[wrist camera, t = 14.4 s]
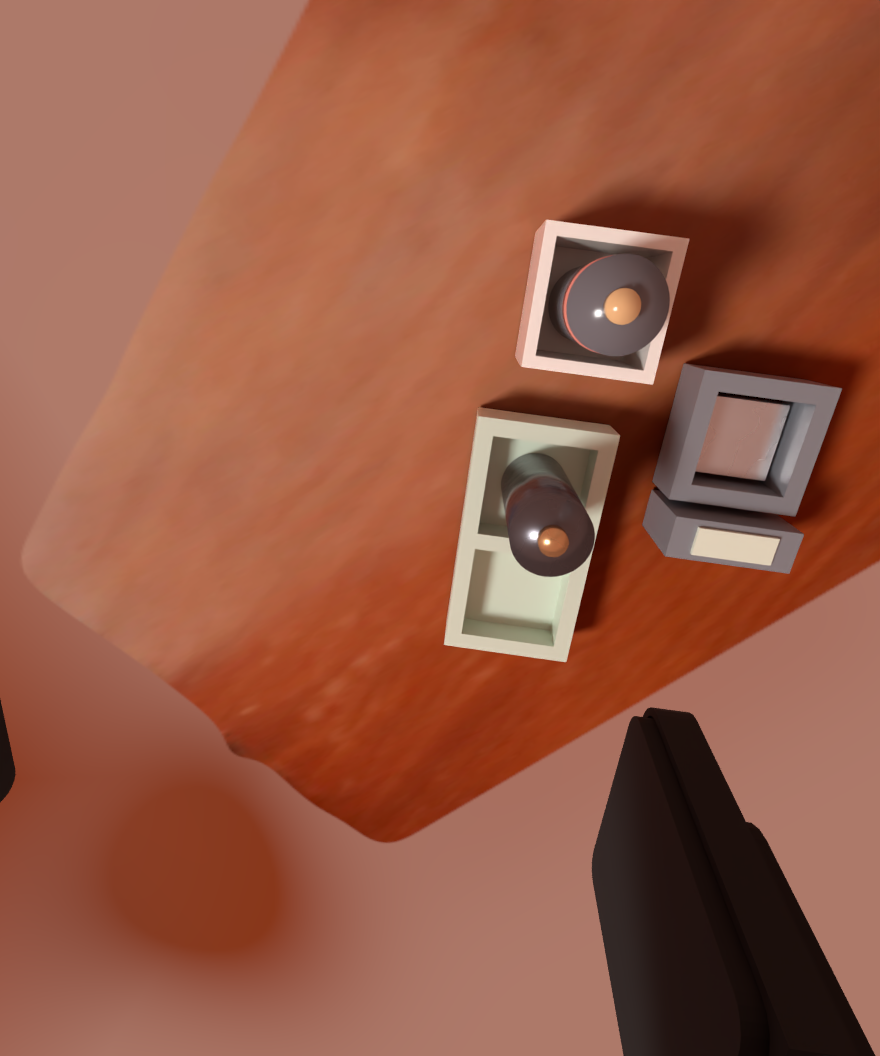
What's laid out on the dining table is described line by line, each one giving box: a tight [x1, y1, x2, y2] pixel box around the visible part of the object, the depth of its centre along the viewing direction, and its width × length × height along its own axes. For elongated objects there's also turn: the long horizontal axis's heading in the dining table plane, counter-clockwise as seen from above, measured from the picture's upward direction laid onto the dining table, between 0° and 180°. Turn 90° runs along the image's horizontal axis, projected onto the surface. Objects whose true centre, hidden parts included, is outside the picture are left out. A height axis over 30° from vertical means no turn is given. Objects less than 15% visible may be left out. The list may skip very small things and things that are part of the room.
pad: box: [696, 394, 790, 481], centre depth 35 cm, size 4×4×2 cm
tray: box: [444, 407, 620, 662], centre depth 37 cm, size 15×8×3 cm, turn 173°
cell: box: [501, 453, 595, 577], centre depth 32 cm, size 4×4×10 cm
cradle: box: [642, 363, 842, 573], centre depth 34 cm, size 10×7×5 cm
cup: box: [515, 220, 689, 385], centre depth 29 cm, size 7×7×10 cm
